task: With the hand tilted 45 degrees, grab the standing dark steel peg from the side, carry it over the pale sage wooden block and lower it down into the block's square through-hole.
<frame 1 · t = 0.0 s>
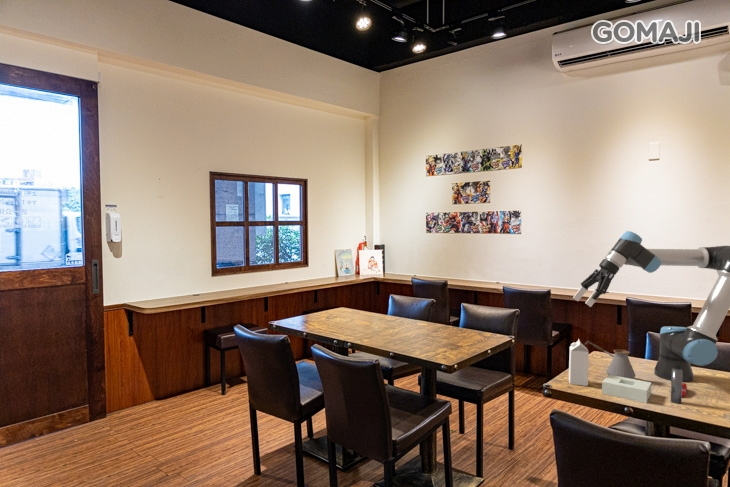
hand: (581, 302, 206), 36 cm above the table, tool tilted 35°, fingers open, 13 cm apart
race car: (678, 393, 198), on the table
hole block: (626, 394, 196), on the table
milk carton: (577, 383, 209), on the table
coffee pot: (608, 377, 218), on the table
peg: (676, 402, 188), on the table
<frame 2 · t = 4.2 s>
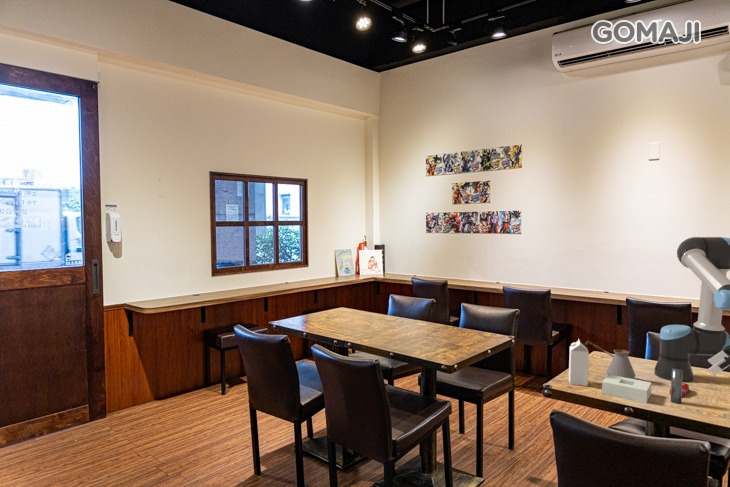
hand: (710, 367, 181), 16 cm above the table, tool tilted 45°, fingers open, 13 cm apart
nothing on the table moved.
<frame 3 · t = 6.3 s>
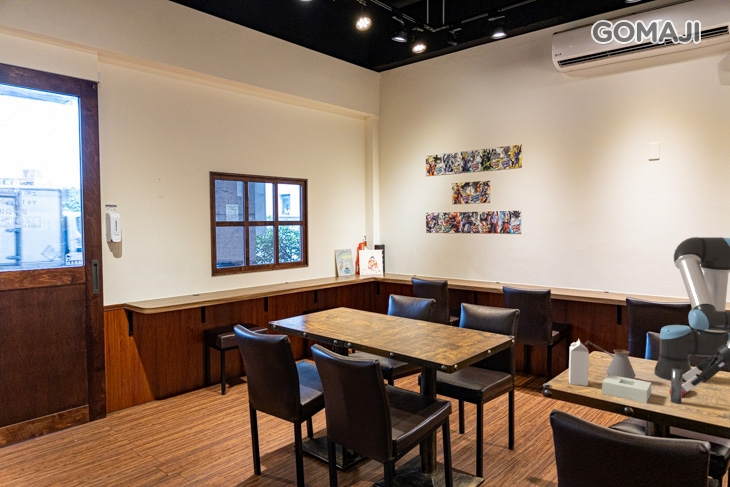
hand: (684, 383, 185), 8 cm above the table, tool tilted 45°, fingers open, 13 cm apart
nothing on the table moved.
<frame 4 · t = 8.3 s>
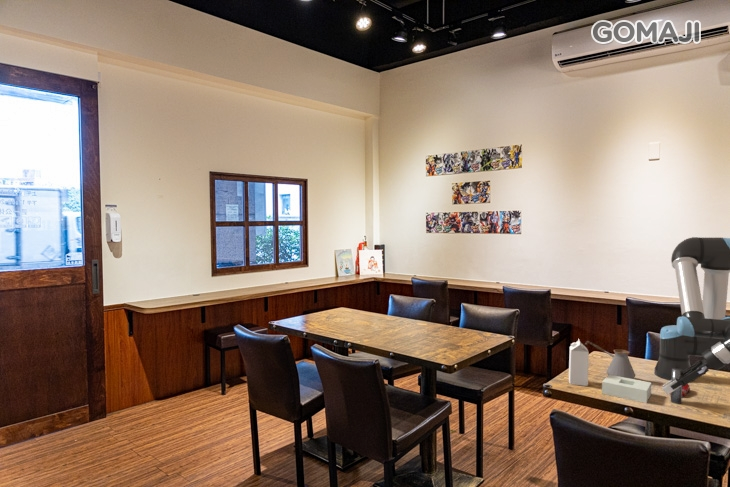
hand: (664, 390, 190), 4 cm above the table, tool tilted 45°, fingers closed on peg, 3 cm apart
peg: (676, 402, 188), on the table, touching gripper
everything else where it was.
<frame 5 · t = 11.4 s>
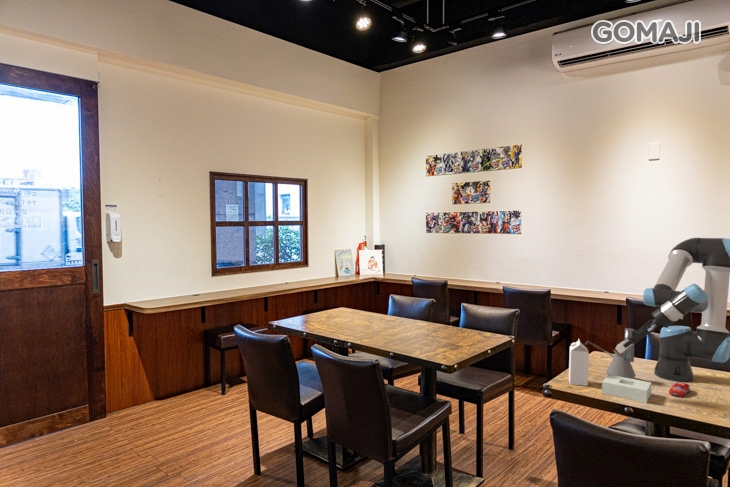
hand: (618, 349, 197), 18 cm above the table, tool tilted 45°, fingers closed on peg, 3 cm apart
peg: (628, 360, 195), point 14 cm above the table, touching gripper
everything else where it was.
when the fingers open (7 cm above the table, at t = 14.3 s): peg drops 3 cm, resting in hole block.
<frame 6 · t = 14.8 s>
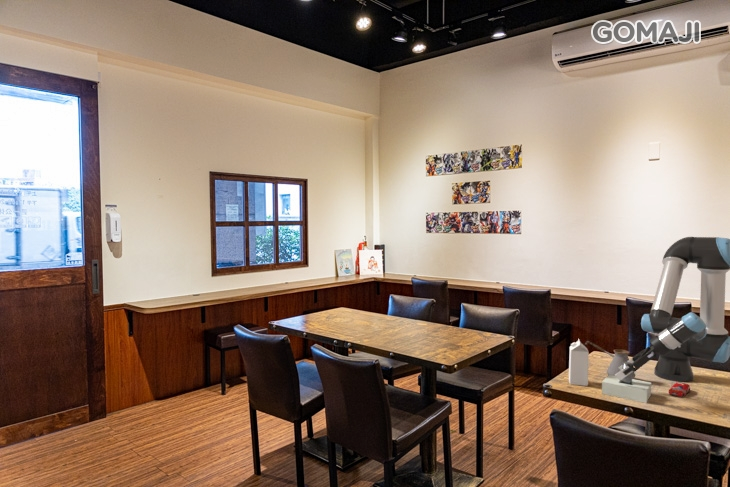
hand: (619, 373, 197), 8 cm above the table, tool tilted 45°, fingers open, 11 cm apart
peg: (626, 394, 196), resting in hole block
everything else where it was.
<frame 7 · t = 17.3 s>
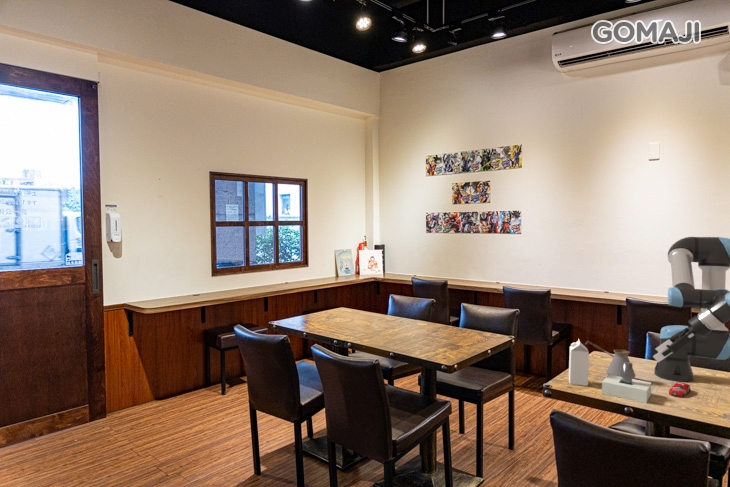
hand: (656, 355, 189), 18 cm above the table, tool tilted 45°, fingers open, 13 cm apart
nothing on the table moved.
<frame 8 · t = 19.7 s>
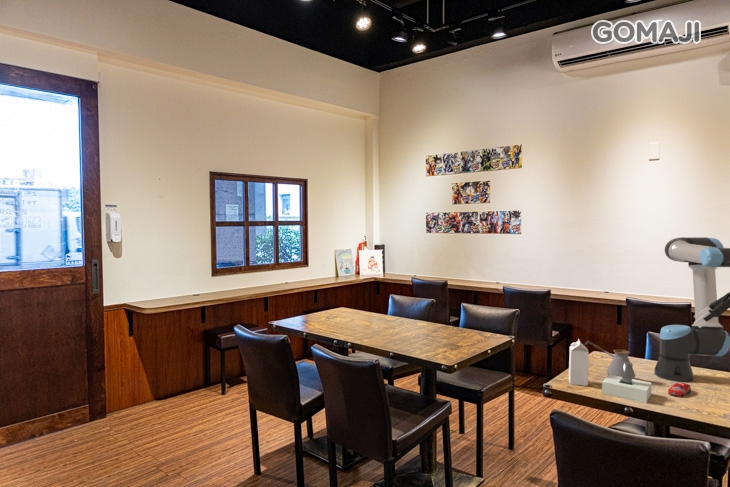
hand: (696, 322, 188), 32 cm above the table, tool tilted 45°, fingers open, 13 cm apart
nothing on the table moved.
at the end: peg 0.1 cm off-centre on the hole block, point 0.0 cm above the hole block's base; peg tilted 0°; the gripper is holding nothing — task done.
